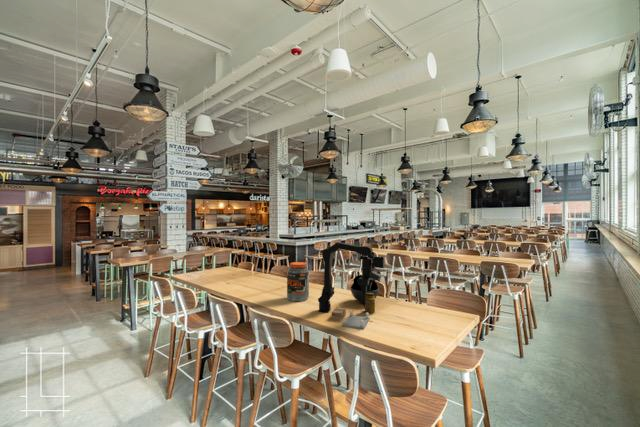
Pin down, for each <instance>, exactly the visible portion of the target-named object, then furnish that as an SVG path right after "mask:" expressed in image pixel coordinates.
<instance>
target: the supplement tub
mask: <svg viewBox="0 0 640 427" xmlns="http://www.w3.org/2000/svg"><path fill="white" fill-rule="evenodd" d="M286 272H287V273H286V274H287V275H286V276H287V277H286V279H287V280H286V298H287V300H289V301H292V302H303V301H307V300H308V299H309V296H310V295H309V293H310V292H309V290H310V288H309V286H310V270H309V268H308V264H307V262H301V261H293V262H290V263H289V268H288V269H287V271H286Z"/></svg>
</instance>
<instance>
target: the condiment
mask: <svg viewBox="0 0 640 427" xmlns="http://www.w3.org/2000/svg"><path fill="white" fill-rule="evenodd" d="M375 310H376V298H374V293H371V292H368V293H366V297H365V303H364V310H362V311H361V310H360V313H361V314H364V315H366V313H369V316H370V315H375V314H378V312H377V311H375Z"/></svg>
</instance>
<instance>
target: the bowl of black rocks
mask: <svg viewBox="0 0 640 427" xmlns="http://www.w3.org/2000/svg"><path fill="white" fill-rule="evenodd" d="M361 275H362V274H358V275H355V276H354V278H353V280H352V281H353V283H352V284H351V286H350V292H351V295H352V297H353V298H354V299H355V300H357V301H358V302H360V303H364V304H365V297H366V294H365V295H364V294H363V292H362V290H361V288H360V286H359V284H358V283H357V280H358V279H359V278H363V277H361ZM368 292H371V293H374V298H375V299H376V298H377V297H378V296H379V293H380V287H379V286H378V283H377V282H376V280H374V281H373V282H372V284H371V288H370V291H368V290H367V288H366V293H368Z"/></svg>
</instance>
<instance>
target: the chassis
mask: <svg viewBox="0 0 640 427" xmlns="http://www.w3.org/2000/svg"><path fill="white" fill-rule="evenodd" d="M353 314H354V310H349V316H347V317H344V318H343V322H342V327H345V326H346V328H352V329H358V330H359V329H360V330H365V328H366V327H367V325H368V323H369V322H370V320H371V318H370V315H369V313H366V314H365V316H361V315H353Z"/></svg>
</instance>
